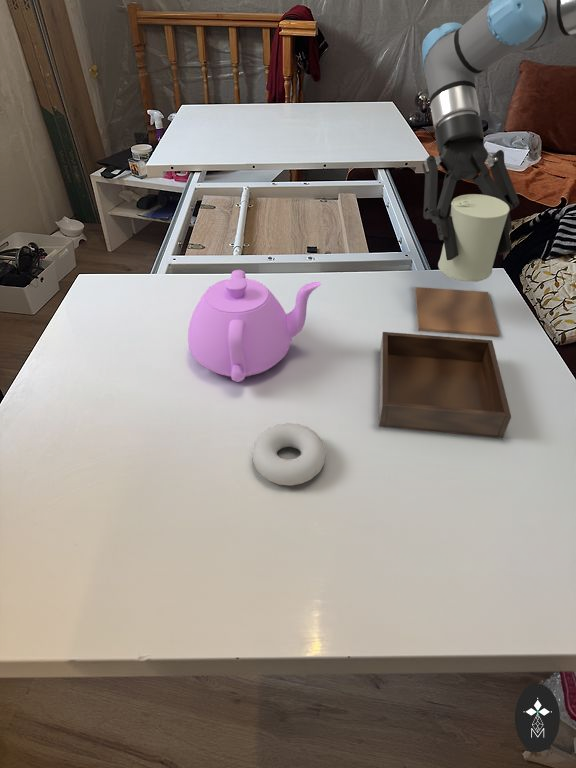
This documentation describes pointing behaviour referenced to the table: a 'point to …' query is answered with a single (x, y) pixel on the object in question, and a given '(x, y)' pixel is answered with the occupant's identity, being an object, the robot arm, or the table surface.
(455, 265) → the can
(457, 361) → the tray
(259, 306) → the teapot
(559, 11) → the robot arm
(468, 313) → the coaster
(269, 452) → the donut
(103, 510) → the table surface
